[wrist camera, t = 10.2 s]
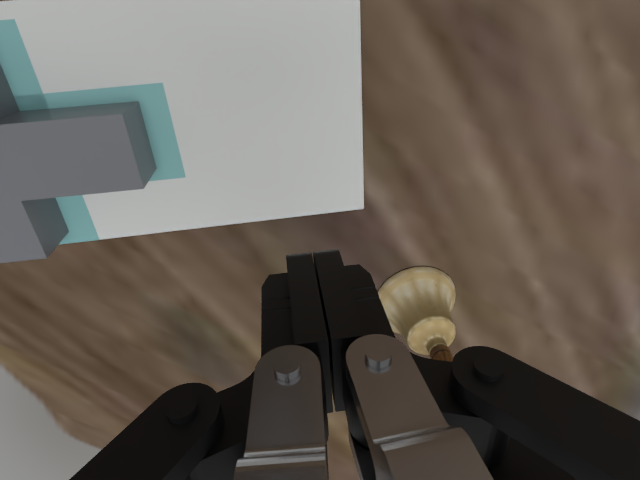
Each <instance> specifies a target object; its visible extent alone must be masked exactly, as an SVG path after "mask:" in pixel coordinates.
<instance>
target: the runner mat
mask: <svg viewBox="0 0 640 480" xmlns="http://www.w3.org/2000/svg"><path fill="white" fill-rule="evenodd" d="M10 19H15V22H16V24H17V27H18V30H19V32H20V35H21V37H22V40H23V43H24V45H25V48H26V50H27V53H28V56H29V58H30V61H31V63H32V66H33V68H34V71H35V74H36V76H37V79H38V81H39V84H40V87H41V89H42V92H43V94H45V93H56V92H66V91H77V90H88V89H99V88H110V87H120V86H131V85H142V84H153V83H163V86H164V90H165V94H166V98H167V102H168V107H169V111H170V115H171V119H172V123H173V127H174V131H175V135H176V139H177V143H178V147H179V151H180V155H181V159H182V164H183V168H184V172H185V176H186V177H185V178H175V179H166V180H157V181H148V183H147V185H146V186H145V188H144V189H137V190H127V191H117V192H107V193H97V194H87V195H83V198H84V201H85V203H86V206H87V208H88V211H89V214H90V216H91V219H92V221H93V224H94V227H95V229H96V232H97V234H98V237H99V239H109V238H118V237H126V236H135V235H143V234H152V233H160V232H169V231H178V230H186V229H195V228H203V227H212V226H220V225H229V224H238V223H246V222H255V221H263V220H272V219H281V218H289V217H298V216H306V215H315V214H323V213H332V212H341V211H349V210H358V209H364V185H363V134H362V82H361V31H360V0H11V1H0V20H10Z"/></svg>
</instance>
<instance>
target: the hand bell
mask: <svg viewBox="0 0 640 480" xmlns="http://www.w3.org/2000/svg"><path fill="white" fill-rule="evenodd" d="M455 294H456V293H455V286H454V284H453V282H452V280H451V279H450V277H449V276H448V275H447V274H445V273H444V272H442V271H440V270H438V269H436V268H433V267H425V266H421V267H420V266H419V267H412V268H408V269H405V270H402V271H400V272H398V273H396V274H394V275H393V276H392V277H390V278H389V279H388V280H387V281H386V282H385V283H384V284H383V285H382V286H381V288H380V289H379V291H378V295H379V299H380V300H381V302H382V305H383V308H384V310H385V313H386V315H387V318H388V320H389V323H390V325H391V328H392V331H393V332H395V333H398V334H402V336H403V337H404V339H405V340H406V342H407V343H408V345H409V347H410V348H411V349H412V350H413V351H415V352H417V353H419V354H424V355H430V357H431V359H434V360H442V361H450V362H452V361H453V357H452V355H451V353H450V350H449V348H448V346H449V345H450V344H451V343H452V342H453V340H454V338H455V333H456V331H455V325H454V323H453V321H452V318H451V314H450V312H451V310H452V308H453V306H454V302H455Z"/></svg>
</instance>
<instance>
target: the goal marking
mask: <svg viewBox="0 0 640 480" xmlns="http://www.w3.org/2000/svg"><path fill="white" fill-rule="evenodd" d="M0 64H1V66H2V69H3V71H4V74H5V76H6V79H7V81H8V84H9V86H10V88H11V91H12V93H13V96H14V98H15V101H16V103H17V106H18V108H19V110H20V111H27V110H39V109H51V108H63V107H75V106H87V105H99V104H110V103H122V102H134V101H139V104H140V108H141V112H142V116H143V119H144V123H145V127H146V131H147V134H148V138H149V142H150V146H151V149H152V153H153V157H154V161H155V164H156V168H157V169H156V171H155V172H154V174H153V175H152V177H151V178H150V180H149V181H157V180H166V179H175V178H185V177H186V176H185V172H184V168H183V164H182V159H181V155H180V151H179V147H178V143H177V139H176V135H175V131H174V127H173V123H172V119H171V115H170V111H169V107H168V102H167V98H166V94H165V90H164V86H163V83H153V84H142V85H131V86H120V87H110V88H99V89H88V90H77V91H66V92H56V93H45V94H43V92H42V89H41V87H40V84H39V81H38V79H37V76H36V74H35V71H34V68H33V66H32V63H31V61H30V58H29V56H28V53H27V50H26V48H25V45H24V43H23V40H22V37H21V35H20V32H19V30H18V27H17V24H16V22H15V19H10V20H0ZM56 201H57V203H58V206H59V208H60V210H61V213H62V215H63V218H64V220H65V223H66V225H67V228H68V230H69V233H68V234H67V235H66V236H65V237H64V238H63V240H62V241H61V242H60V243H59V244H67V243H76V242H84V241H93V240H100V239H99V237H98V234H97V232H96V229H95V227H94V224H93V221H92V219H91V216H90V214H89V211H88V208H87V206H86V203H85V201H84V198H83V195H77V196H67V197H56Z"/></svg>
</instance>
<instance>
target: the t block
mask: <svg viewBox="0 0 640 480" xmlns="http://www.w3.org/2000/svg"><path fill="white" fill-rule="evenodd" d="M156 169H157V168H156V164H155V161H154V157H153V153H152V149H151V146H150V142H149V138H148V134H147V131H146V127H145V123H144V119H143V116H142V112H141V108H140V104H139V101H134V102H122V103H110V104H99V105H87V106H75V107H63V108H51V109H39V110H27V111H20V110H19V108H18V106H17V103H16V101H15V98H14V96H13V93H12V91H11V88H10V86H9V84H8V81H7V79H6V76H5V74H4V71H3V69H2V66H1V64H0V263H6V262H15V261H24V260H33V259H42V258H47V257H48V256H49V255H50V254H51V253H52V251H53V250H54V249H55V248H56V247H57V246H58V244H59V243H60V242H61V241H62V240H63V238H64V237H65V236H66V235H67V234H68V233H69V230H68V228H67V225H66V223H65V220H64V218H63V215H62V213H61V210H60V208H59V206H58V203H57V201H56V197H67V196H77V195H87V194H97V193H107V192H117V191H127V190H137V189H144V188H145V186H146V185H147V183H148V181H149V180H150V178H151V177H152V175H153V174H154V172H155V171H156Z"/></svg>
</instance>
